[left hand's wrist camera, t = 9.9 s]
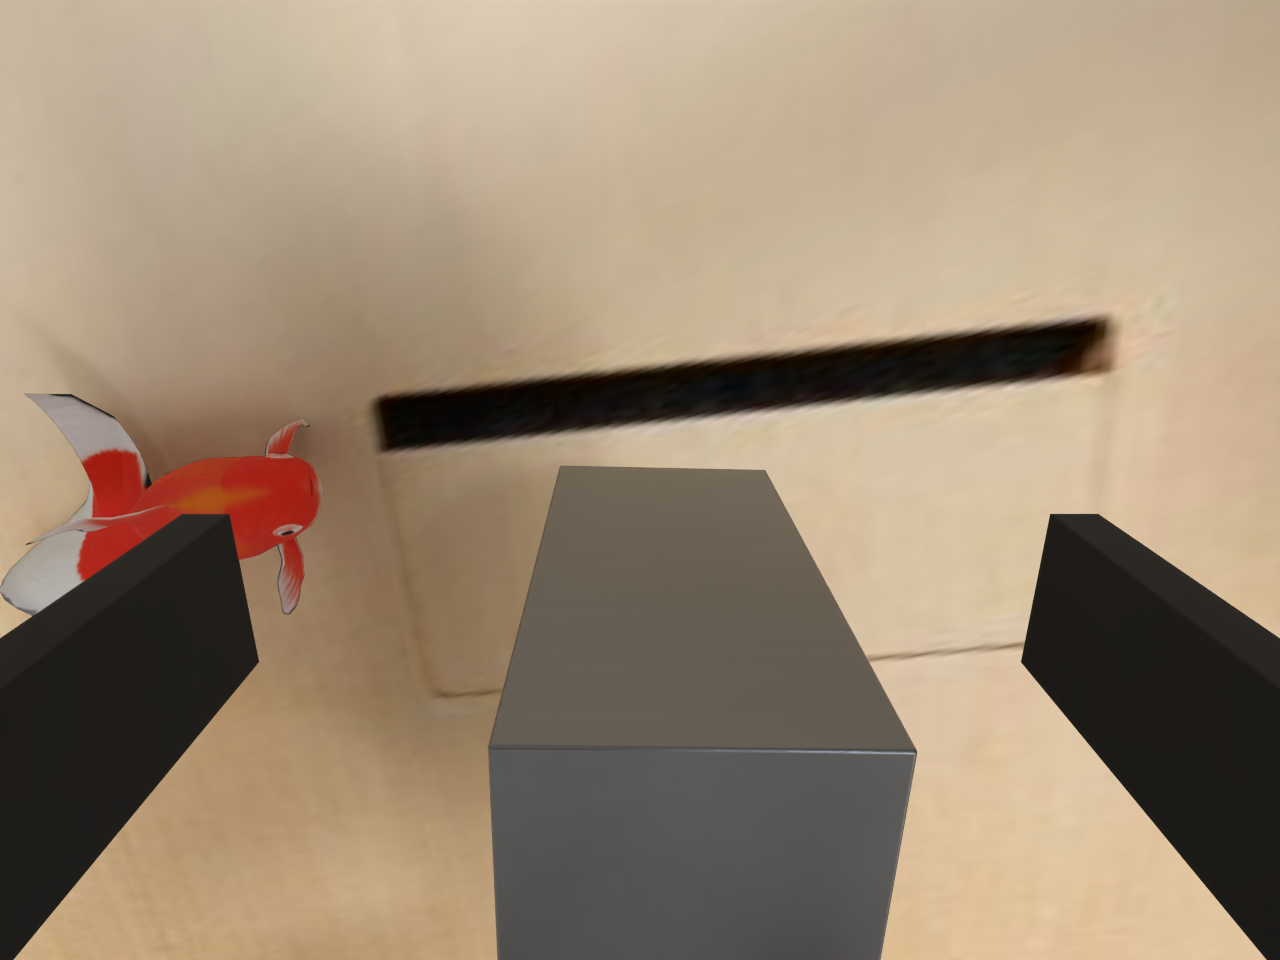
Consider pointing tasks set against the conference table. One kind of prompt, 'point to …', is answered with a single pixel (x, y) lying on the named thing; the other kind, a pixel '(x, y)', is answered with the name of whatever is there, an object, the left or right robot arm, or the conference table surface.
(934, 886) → the conference table surface
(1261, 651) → the left robot arm
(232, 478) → the fish
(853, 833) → the box
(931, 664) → the conference table surface
